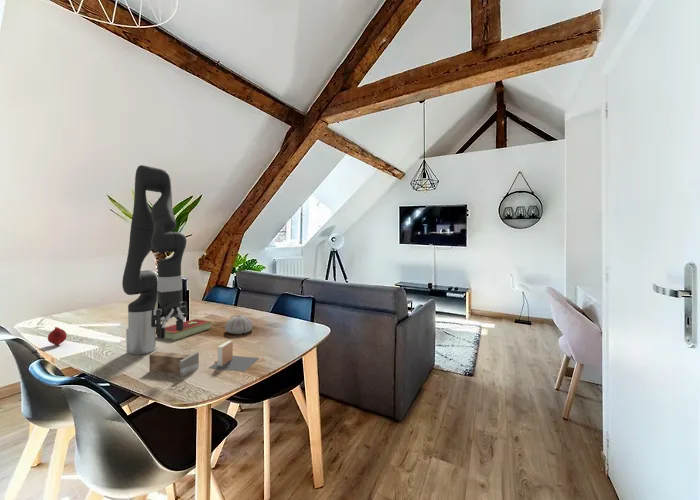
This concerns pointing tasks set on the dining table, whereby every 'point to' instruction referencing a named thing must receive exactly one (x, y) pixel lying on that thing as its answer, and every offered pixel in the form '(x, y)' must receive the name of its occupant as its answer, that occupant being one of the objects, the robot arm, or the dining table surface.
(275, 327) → the dining table surface
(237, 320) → the sea urchin shell
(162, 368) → the wooden post on base
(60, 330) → the onion
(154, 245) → the robot arm
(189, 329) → the hardcover book
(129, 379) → the dining table surface
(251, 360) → the mat
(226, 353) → the tile
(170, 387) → the dining table surface
